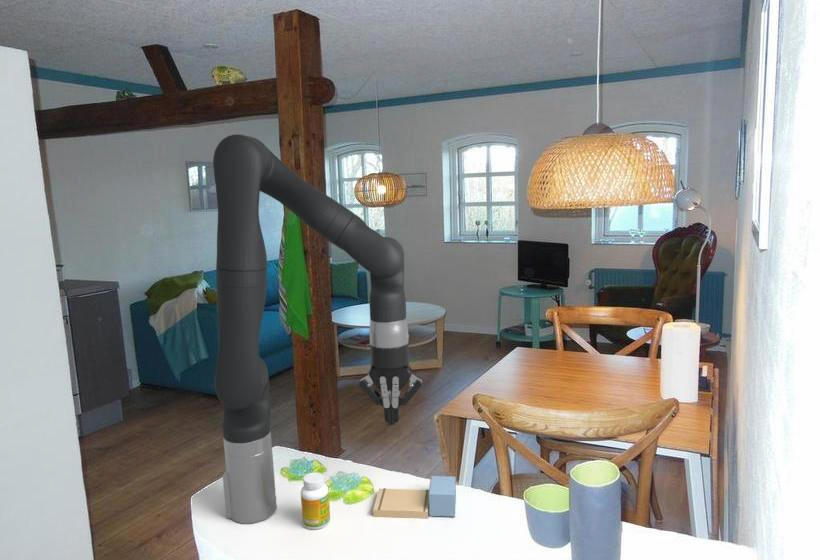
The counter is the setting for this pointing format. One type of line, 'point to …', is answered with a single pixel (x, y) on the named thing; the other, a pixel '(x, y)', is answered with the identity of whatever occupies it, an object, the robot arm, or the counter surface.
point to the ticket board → (402, 503)
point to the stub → (442, 496)
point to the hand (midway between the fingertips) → (392, 423)
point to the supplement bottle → (315, 501)
